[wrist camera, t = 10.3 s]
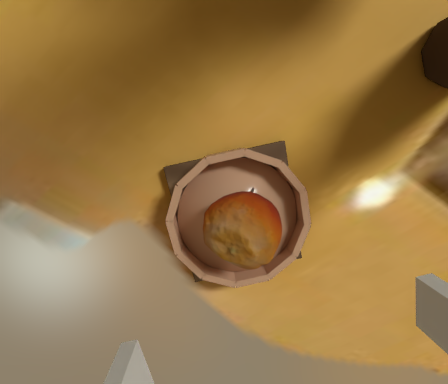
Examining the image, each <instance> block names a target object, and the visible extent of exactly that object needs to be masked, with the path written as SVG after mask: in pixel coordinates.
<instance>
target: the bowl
mask: <svg viewBox="0 0 448 384" xmlns="http://www.w3.org/2000/svg"><path fill="white" fill-rule="evenodd" d="M244 156H245V157H248V158H244ZM265 163H266V164H265ZM267 164H269V165H272V166H273V167H274V168H275V169H276V170H277V171H276V170H275V169H274V168H272V167H271V166H269V165H267ZM187 184H188V185H187ZM186 185H187V186H186ZM185 186H186V188H185V190H184V187H185ZM290 187H291V188H292V190H291V188H290ZM252 188H255V189H254V193H257V194H259V195H261V196H263V197H264V198H266V199H268V200H269V201H271V202H272V203H273V205H274V206H275V207H276V208H277V210H278V212H279V214H280V218H281V223H282V238H281V242H280V244H279V246H278V248H277V250H276V252H275V254H274V257H273V259H272V261H271V262H270V263H268V264H266V265H262V266H261V267H259V268H257V269H252V270H249V269H243V268H240V267H238V266H235V265H233V264H231V263H229V262H226V261H225V260H223V259H221V258H220V257H218V256H217V255H216V254H215V253H213V252H212V251H211V249H210V248H209V247H208V246H206V245H205V243H204V236H203V220H204V213H205V212H206V210H207V209H208V208H209V206H210V205H211V204H212V203H214V202H215V201H217V200H218V199H220V198H221V197H223V196H226V195H229V194H232V193H235V192H241V191H246V192H251V190H252ZM183 190H184V192H183ZM182 193H183V194H182ZM177 210H178V218H177ZM166 226H167V229H168V233H169V236H170V239H171V243H172V246H173V250H174V253H175V255H176V257H177V258H178V259H179V260H180V261H182V262H183V263H184V264H185V265H186V266H187V267H188V268H189V269H190V270H191V271H192V272H193V273H195V274H196V275H197V276H198V277H199V278H200V279H201V278H202V280H205V281H209V282H213V283H217V284H221V285H225V286H229V287H233V288H235V286H236V288H238V287H242V286H247V285H251V284H255V283H260V282H264V281H269V279H270V280H271V279H272V278H273V277H275V276H276V275H277V274H278V273H279V272H281V271H282V270H283V269H284V268H286V267H287V266H288V265H289V264H290V263H292V262H293V261H294V260H295V259H297V258H296V257H298V255H299V253H300V251H301V248H302V246H303V244H304V241H305V239H306V237H307V234H308V232H309V229H310V227H311V219H310V211H309V203H308V196H307V190H306V188H305V187H304V186H303V185H302V183H301V182H300V181H299V180H298V178H297V177H296V176H295V175H294V174H293V172H292V171H291V170H290V169H289V168H288V166H287V165H286V164H285V163H284V162H283V161H282V160H279V159H276V158H273V157H270V156H267V155H264V154H261V153H258V152H255V151H252V150H249V149H246V148H237V149H233V150H228V151H224V152H219V153H215V154H210V155H206V157H205V156H204V157H203V158H202V159H201V160H200V161H199V162H198V163H197V164H196V165H195V166H194V167H193V168H192V169H190V170H189V171H188V172H187V173H186V174H185V175H184V176H183V177H182V178H181V179H180V180H179V181H178V182H177V183H176V185H175V188H174V192H173V195H172V199H171V202H170V206H169V209H168V213H167V216H166Z"/></svg>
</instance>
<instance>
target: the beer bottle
mask: <svg viewBox="0 0 448 384" xmlns="http://www.w3.org/2000/svg"><path fill="white" fill-rule="evenodd" d="M421 53H422V59H423V65H424V71H425V77H427V78H428V79H430V80H432V81H434V82H436V83H437V84H439V85H441V86H443V87H445V88H448V17H447V18H446V19H444V20H442V21H440V22H439V23H437V25H436V26H435V27H434V29H433V31H432V33H431V35H430V37H429V38H428V40H427V42H426V44H425V46H424V48H423V50H422V51H421Z"/></svg>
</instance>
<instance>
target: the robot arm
mask: <svg viewBox="0 0 448 384" xmlns="http://www.w3.org/2000/svg"><path fill="white" fill-rule="evenodd" d="M416 326H417V327H419V328H420V329H421V330H422V331H423V332H424V333H425V334H426V335H427V336H428V337H430V338H431V339H432V340H433V341H434V342H435V343H436V344H437V345H438V346H439V347H440V348H442V349H443V350H444V351H445V352H446V353H447V354H448V283H447V282H445V281H443V280H442V279H440V278H439V277H437V276H435V275H434V274H432V273H431V274H427V275H422V276H418V277H416ZM103 384H154V382H153V379H152V376H151V374H150V371H149V368H148V366H147V364H146V360H145V358H144V355H143V352H142V350H141V347H140V345H139V342H138V340H132V341H128V342H123V343H121V344H120V347H119V349H118V351H117V354H116V356H115V358H114V360H113V363H112V365H111V368H110V369H109V372H108V374H107V376H106V379H105V381H104V383H103Z"/></svg>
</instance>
